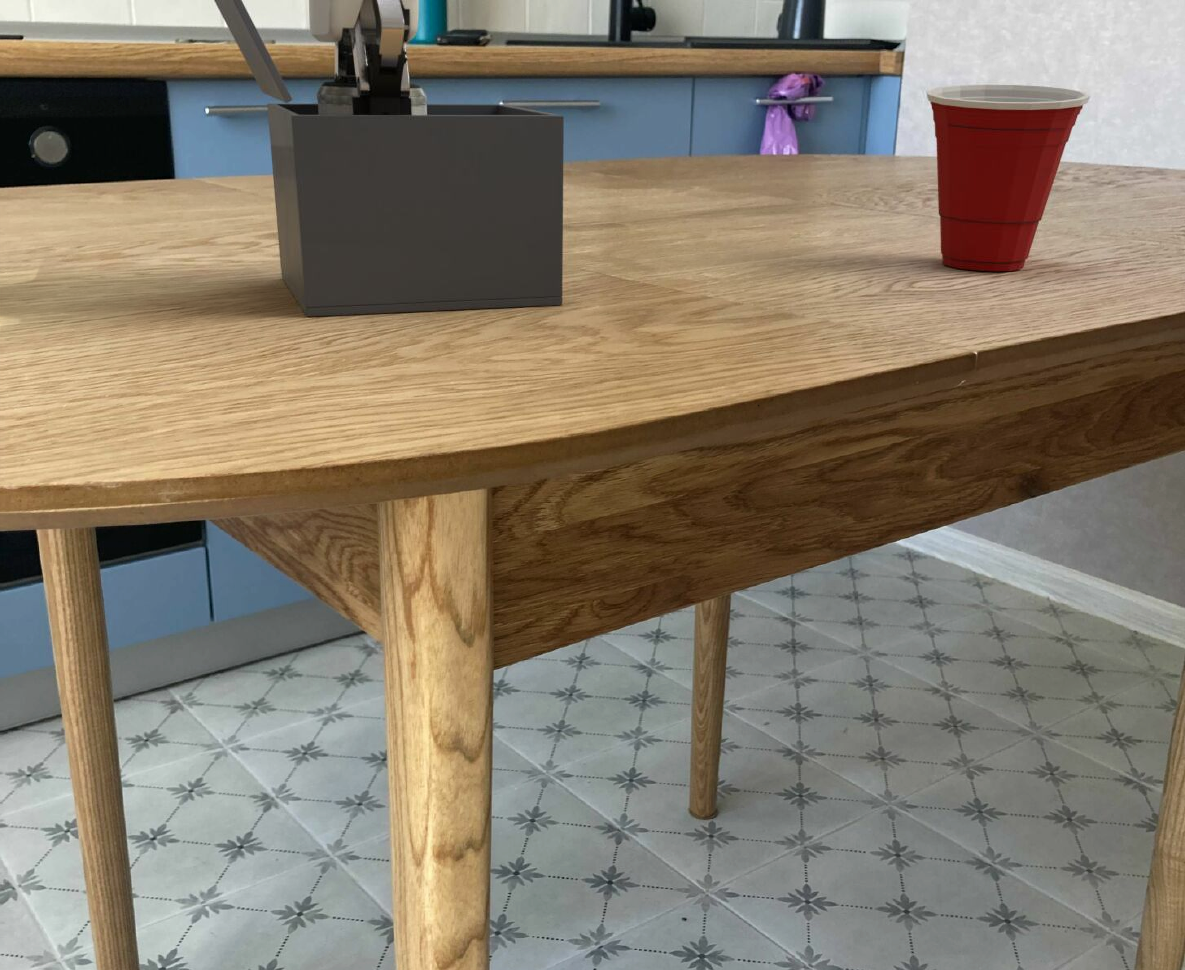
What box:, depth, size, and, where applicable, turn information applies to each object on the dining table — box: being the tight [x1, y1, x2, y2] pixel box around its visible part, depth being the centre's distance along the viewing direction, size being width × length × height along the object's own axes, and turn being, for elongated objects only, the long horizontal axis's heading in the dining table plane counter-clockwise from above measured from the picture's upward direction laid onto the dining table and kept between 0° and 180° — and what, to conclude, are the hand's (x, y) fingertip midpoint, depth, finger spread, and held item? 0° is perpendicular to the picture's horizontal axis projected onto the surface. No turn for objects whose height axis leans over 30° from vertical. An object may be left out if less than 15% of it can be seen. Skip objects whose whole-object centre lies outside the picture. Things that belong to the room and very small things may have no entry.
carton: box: [266, 102, 565, 318], centre depth 76 cm, size 15×13×10 cm
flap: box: [213, 0, 293, 104], centre depth 69 cm, size 7×13×1 cm
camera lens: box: [316, 75, 428, 115], centre depth 74 cm, size 6×6×8 cm
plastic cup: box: [926, 84, 1091, 272], centre depth 88 cm, size 11×11×12 cm
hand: (374, 164), depth 74 cm, fingers closed on camera lens, 6 cm apart
